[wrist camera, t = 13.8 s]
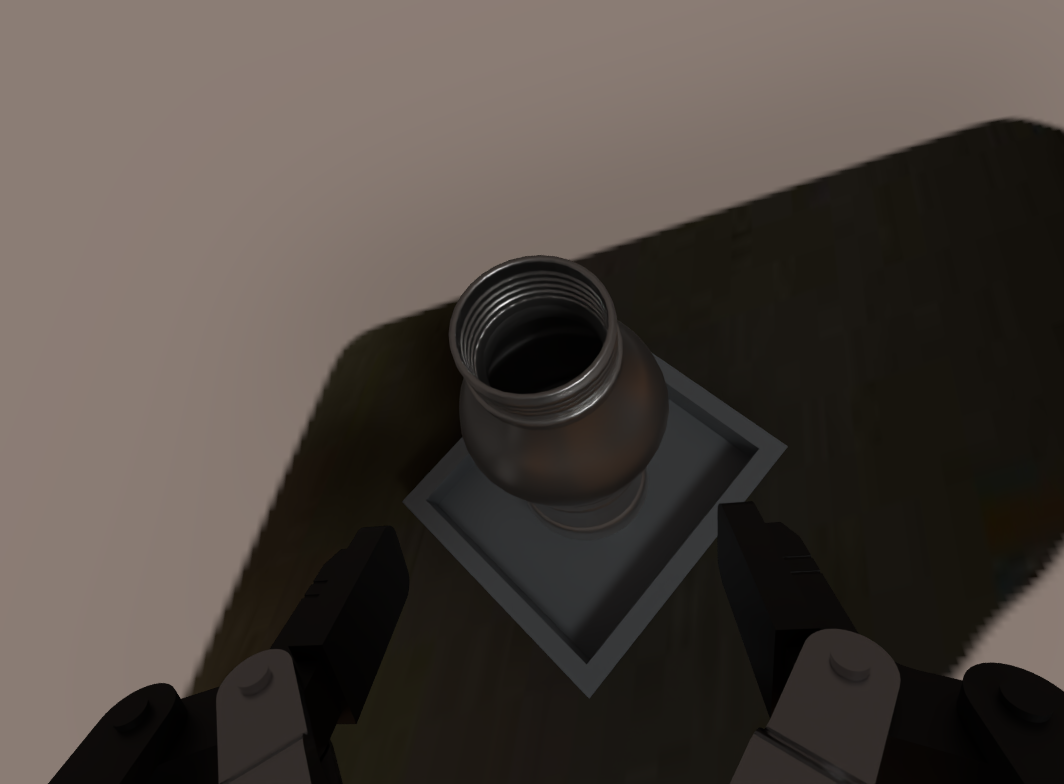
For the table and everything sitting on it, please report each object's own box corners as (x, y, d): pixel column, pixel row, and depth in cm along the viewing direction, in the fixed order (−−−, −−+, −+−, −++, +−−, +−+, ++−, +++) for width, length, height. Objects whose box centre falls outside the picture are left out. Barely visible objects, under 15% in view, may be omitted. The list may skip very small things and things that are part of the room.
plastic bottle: (527, 439, 31) (385, 228, 13) (638, 426, 30) (663, 180, 12) (534, 548, 29) (374, 488, 10) (655, 538, 28) (720, 452, 9)
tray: (592, 687, 27) (589, 698, 24) (421, 509, 32) (402, 501, 29) (772, 459, 29) (787, 446, 26) (587, 328, 34) (583, 306, 31)
